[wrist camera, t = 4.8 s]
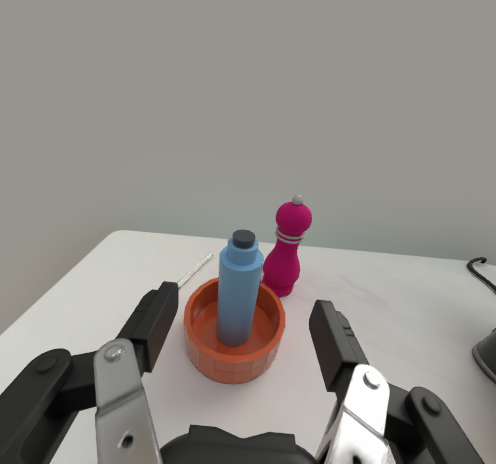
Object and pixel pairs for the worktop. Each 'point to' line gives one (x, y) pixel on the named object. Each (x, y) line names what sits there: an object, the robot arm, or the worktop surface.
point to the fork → (193, 270)
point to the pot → (226, 357)
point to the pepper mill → (286, 247)
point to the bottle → (238, 287)
